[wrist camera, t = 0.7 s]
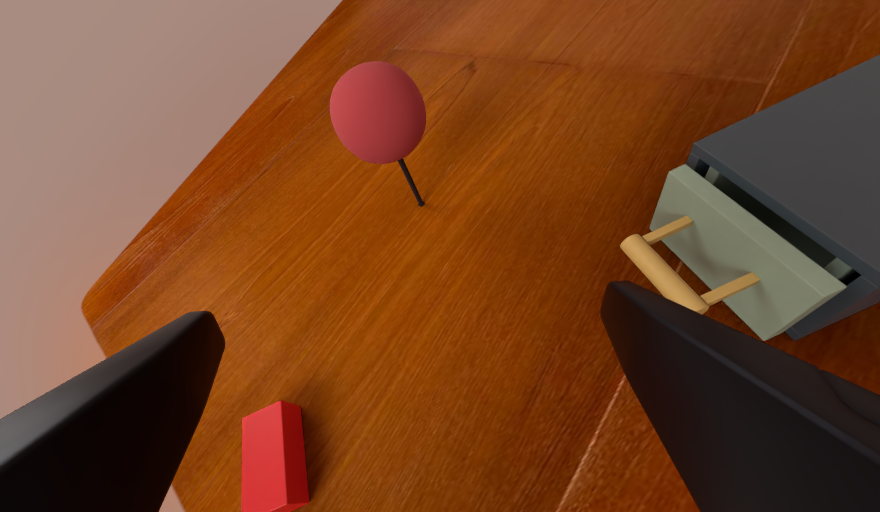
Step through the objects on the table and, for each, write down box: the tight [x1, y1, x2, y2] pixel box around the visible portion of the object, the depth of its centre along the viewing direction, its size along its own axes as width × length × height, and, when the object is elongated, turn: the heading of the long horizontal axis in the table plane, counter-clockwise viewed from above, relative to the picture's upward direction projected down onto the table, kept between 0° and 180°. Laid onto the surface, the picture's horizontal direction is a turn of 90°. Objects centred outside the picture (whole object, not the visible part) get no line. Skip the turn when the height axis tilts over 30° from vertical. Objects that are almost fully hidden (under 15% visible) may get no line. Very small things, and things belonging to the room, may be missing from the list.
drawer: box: [620, 164, 861, 341], centre depth 22 cm, size 17×10×6 cm, turn 110°
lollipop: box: [330, 61, 426, 206], centre depth 32 cm, size 8×8×15 cm
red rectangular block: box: [242, 400, 309, 512], centre depth 26 cm, size 7×3×3 cm, turn 20°
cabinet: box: [686, 55, 880, 340], centre depth 22 cm, size 14×12×8 cm
